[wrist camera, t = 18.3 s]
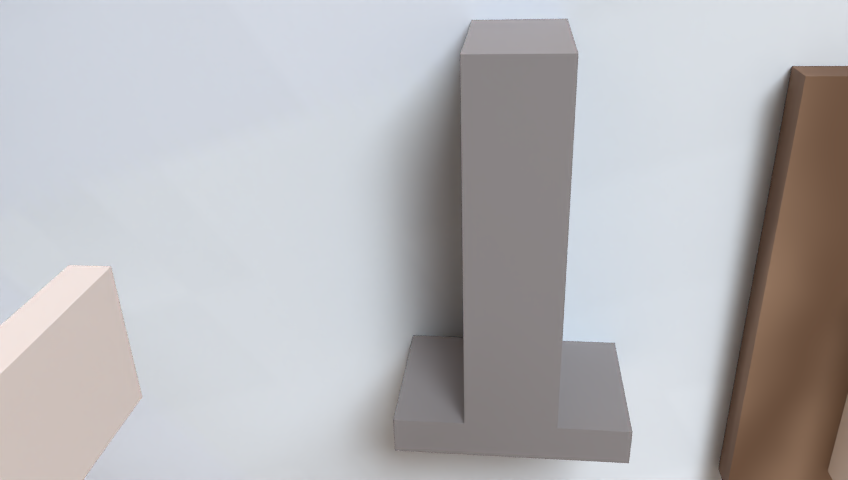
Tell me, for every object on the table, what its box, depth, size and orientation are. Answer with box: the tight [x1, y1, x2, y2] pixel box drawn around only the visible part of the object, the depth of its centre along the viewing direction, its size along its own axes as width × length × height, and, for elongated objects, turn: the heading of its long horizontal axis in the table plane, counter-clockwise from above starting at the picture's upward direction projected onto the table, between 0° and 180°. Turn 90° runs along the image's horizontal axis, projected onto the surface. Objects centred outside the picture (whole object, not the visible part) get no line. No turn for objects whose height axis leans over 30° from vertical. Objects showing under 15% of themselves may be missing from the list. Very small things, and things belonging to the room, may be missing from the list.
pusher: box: [393, 19, 632, 463], centre depth 29 cm, size 9×16×6 cm, turn 2°
